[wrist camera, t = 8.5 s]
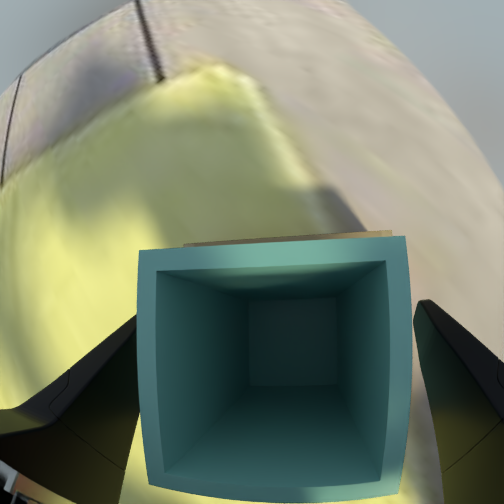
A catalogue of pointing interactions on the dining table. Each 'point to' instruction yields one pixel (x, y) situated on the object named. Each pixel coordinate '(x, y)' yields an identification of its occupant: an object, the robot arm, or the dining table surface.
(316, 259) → the teal crate
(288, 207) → the dining table surface
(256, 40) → the dining table surface
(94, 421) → the robot arm
